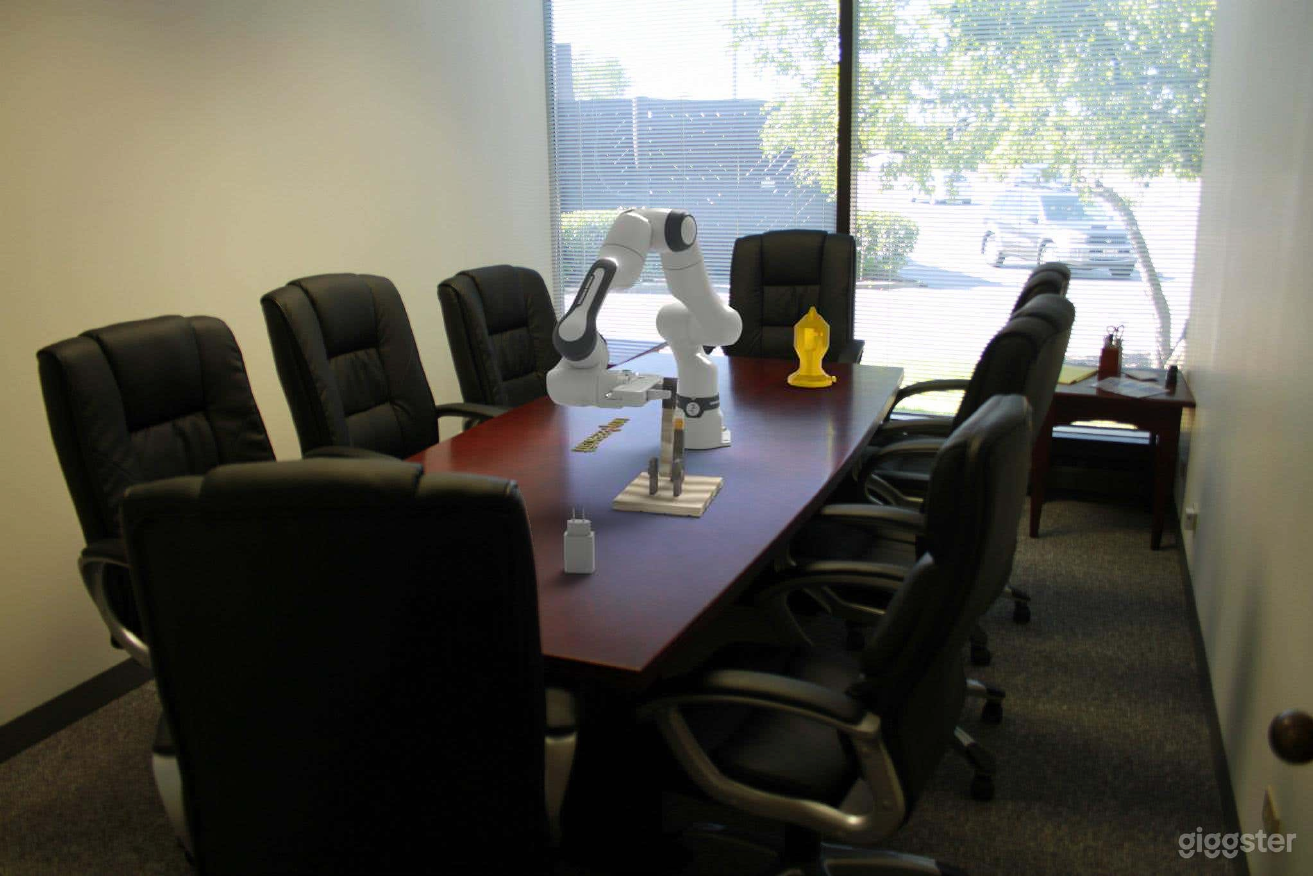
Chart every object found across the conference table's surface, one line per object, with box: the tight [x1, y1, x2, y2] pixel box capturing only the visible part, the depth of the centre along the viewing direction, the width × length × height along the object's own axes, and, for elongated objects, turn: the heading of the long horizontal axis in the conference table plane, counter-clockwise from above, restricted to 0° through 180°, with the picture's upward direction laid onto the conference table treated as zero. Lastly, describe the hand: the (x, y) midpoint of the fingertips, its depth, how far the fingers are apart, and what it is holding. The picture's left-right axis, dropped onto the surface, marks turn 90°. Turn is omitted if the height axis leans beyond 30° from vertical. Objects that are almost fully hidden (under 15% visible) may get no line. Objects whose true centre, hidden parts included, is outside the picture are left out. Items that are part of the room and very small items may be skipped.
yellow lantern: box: [787, 306, 837, 388], centre depth 359 cm, size 18×24×28 cm
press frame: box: [612, 422, 724, 518], centre depth 225 cm, size 24×20×16 cm
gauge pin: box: [674, 413, 685, 430], centre depth 229 cm, size 10×5×2 cm, turn 165°
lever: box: [658, 376, 678, 478], centre depth 221 cm, size 3×3×22 cm
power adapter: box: [563, 508, 596, 574], centre depth 182 cm, size 3×5×12 cm, turn 84°
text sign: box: [571, 417, 630, 453], centre depth 286 cm, size 40×1×8 cm
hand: (673, 392), depth 220 cm, fingers open, 4 cm apart
